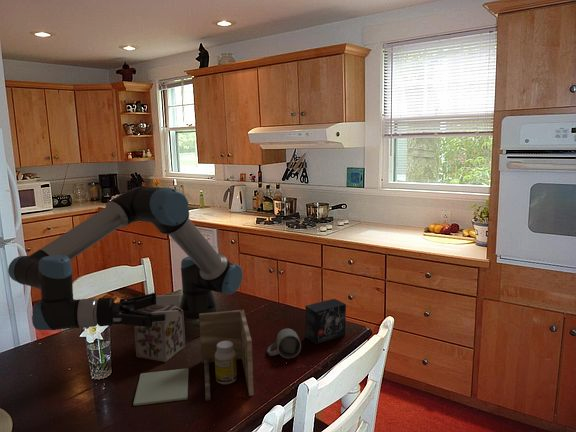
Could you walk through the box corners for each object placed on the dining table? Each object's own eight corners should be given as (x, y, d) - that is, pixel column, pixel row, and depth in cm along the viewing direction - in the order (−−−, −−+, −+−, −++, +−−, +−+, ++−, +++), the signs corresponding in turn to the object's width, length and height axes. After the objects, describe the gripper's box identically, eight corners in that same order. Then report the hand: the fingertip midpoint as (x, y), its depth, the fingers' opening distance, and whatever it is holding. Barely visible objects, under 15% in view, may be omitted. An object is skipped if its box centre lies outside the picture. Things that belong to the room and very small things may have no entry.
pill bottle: (228, 371, 137) (227, 337, 135) (241, 379, 133) (240, 343, 131) (211, 379, 133) (209, 344, 131) (224, 387, 129) (222, 351, 127)
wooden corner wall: (201, 361, 144) (199, 313, 141) (245, 356, 146) (243, 309, 144) (202, 401, 122) (199, 345, 119) (253, 395, 125) (251, 340, 122)
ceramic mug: (297, 346, 153) (296, 324, 152) (301, 357, 145) (301, 335, 144) (266, 349, 152) (265, 327, 150) (268, 361, 144) (267, 338, 142)
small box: (316, 345, 154) (315, 311, 152) (304, 338, 159) (304, 305, 157) (346, 335, 161) (346, 303, 159) (334, 329, 166) (334, 297, 164)
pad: (140, 375, 136) (140, 373, 136) (188, 370, 139) (188, 368, 139) (133, 405, 121) (133, 403, 120) (187, 399, 123) (187, 397, 123)
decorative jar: (135, 357, 147) (131, 304, 144) (157, 342, 158) (153, 292, 155) (166, 363, 143) (162, 309, 140) (186, 347, 154) (183, 296, 151)
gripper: (106, 309, 135) (179, 305, 140) (89, 344, 111) (178, 337, 116) (105, 285, 134) (179, 281, 139) (87, 315, 110) (177, 309, 114)
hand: (178, 306), depth 127 cm, fingers open, 13 cm apart
